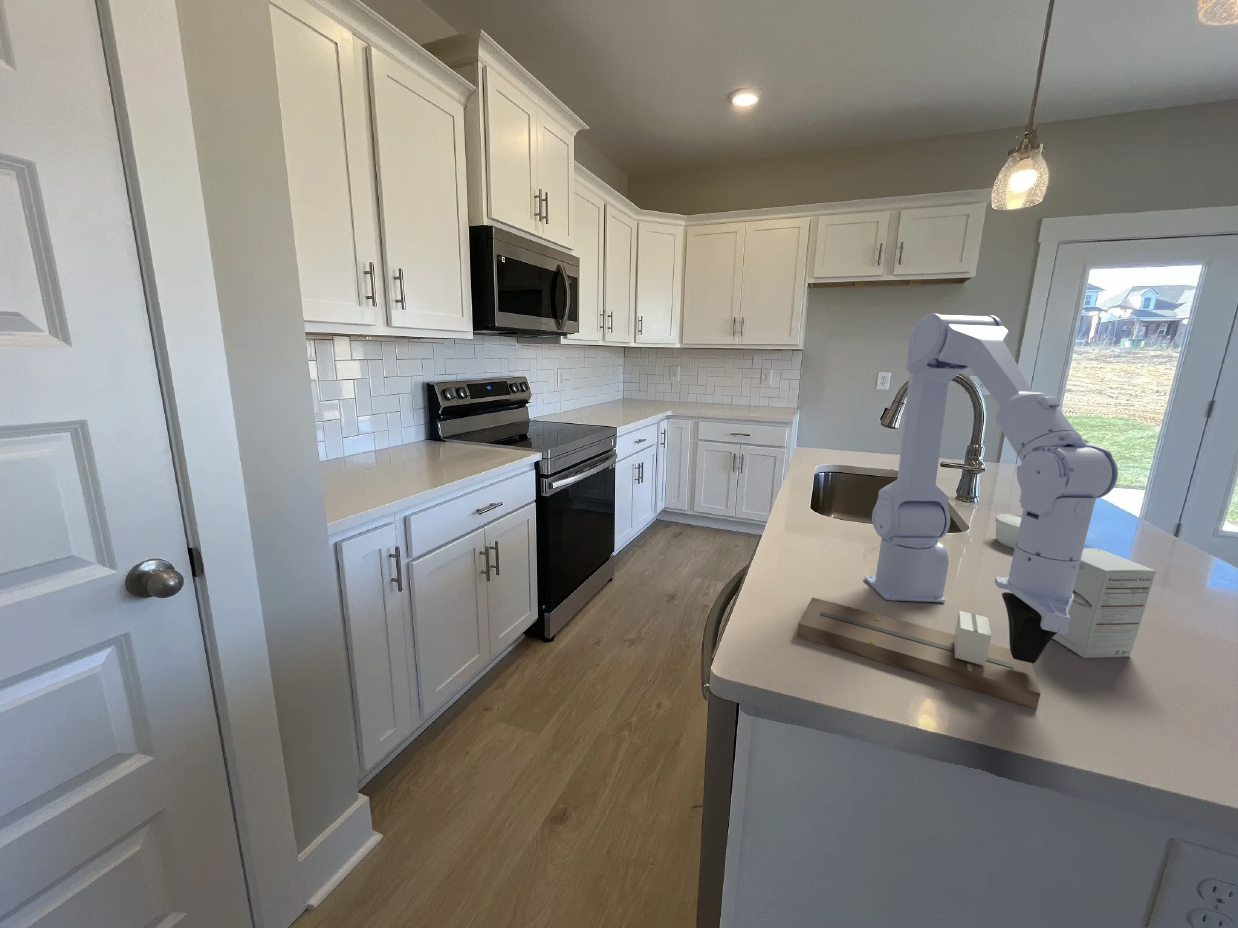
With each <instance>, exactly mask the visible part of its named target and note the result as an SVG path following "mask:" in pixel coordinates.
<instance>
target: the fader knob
mask: <svg viewBox="0 0 1238 928" xmlns="http://www.w3.org/2000/svg"><path fill="white" fill-rule="evenodd" d="M957 615H958V616H957V621H956V626H955V632H954V650H955V658H958V659H962V660H965V661H969V662H972V663H976V664H979V665H983V666H985V663H986V659H987V654H988V649H989V645H990V644H991V639H992V632H991V626H990V622H989V618H988V617H986V616H982V615H979V614H976V613H974V612H966V611H963V610H959V611H958V614H957Z"/></svg>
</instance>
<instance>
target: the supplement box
mask: <svg viewBox="0 0 1238 928" xmlns="http://www.w3.org/2000/svg"><path fill="white" fill-rule="evenodd" d="M1156 574H1157V570H1155V569H1153V568H1150V567H1148V566H1144V565H1142V564H1140V563H1137V562H1134V561H1132V560H1129V559H1127V558H1124V557H1123V556H1119V555H1118V554H1117V555H1116V554H1115V553H1112V552H1109V551H1107V550H1103V549H1101V548H1097V547H1096V548H1093V547H1090V548H1089V547H1087V548H1086V547H1084V548H1083V552H1082V556H1081V560H1080V564H1079V569H1078V573H1077V577H1076V581H1075V585H1074V589H1073V595H1074V599H1073V603H1072V605H1071V608H1070V610H1069V613H1068V614H1069V616H1070V619H1071V620H1070V623H1069V626H1068V630H1067V634H1062V633H1057V634H1056V635H1054V637H1053V638H1052V639H1053V640H1054V641H1056V642H1058V643H1059V644H1061V645H1062V646H1064V647H1066V648H1067V649H1069V650H1071V651H1072V652H1074V653H1076V654H1077V656H1079V657H1081V658H1082V659H1087V658H1089V659H1090V658H1091V659H1094V658H1095V659H1096V658H1097V659H1098V658H1101V659H1103V658H1123V657H1125V658H1126V657H1127V658H1128V657H1131V655H1132V651H1133V649H1134V646H1135V643H1136V639H1137V637H1138V636H1137V635H1138V633H1139V630H1140V625H1141V622H1142V619H1143V615H1144V612H1145V609H1146V606H1147V602H1148V598H1149V596H1150V592H1151V588H1152V585H1153V582H1154V579H1155V576H1156Z"/></svg>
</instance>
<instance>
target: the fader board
mask: <svg viewBox="0 0 1238 928" xmlns="http://www.w3.org/2000/svg"><path fill="white" fill-rule="evenodd" d="M954 635H955V633H951V632H950V633H949V632H946V631H942V630H940V629H936V628H931V627H927V626H923V625H920V624H916V623H913V622H908V621H905V620H900V619H897V618H892V617H889V616H886V615H881V614H877V613H873V612H871V611H867V610H863V609H859V608H855V607H850V606H847V605H843V604H839V603H835V602H831V601H828V600H824V599H820V598H816V597H811V599H810V600H809V603H808V605H807V606H806V608H805V611H804V612H803V614H802V616H801V618H800V620H799V621H798V627H797V635H796V636H797V637H798V638H801V639H806V640H807V641H808V640H809V641H811V642H815V643H818V644H822V645H825V646H828V647H831V648H835V649H838V650H841V651H844V652H848V653H851V654H854V655H858V656H861V657H864V658H867V659H870V660H874V661H877V662H881V663H884V664H887V665H891V666H893V667H894V666H895V667H897V668H901V669H903V670H907V671H909V672H914V673H916V674H919V675H924V676H927V677H930V678H933V679H936V680H940V681H943V682H947V683H950V684H953V685H956V686H960V687H963V688H966V689H969V690H972V691H976V692H979V693H982V694H985V695H990V696H992V697H995V698H999V699H1002V700H1006V701H1007V702H1008V701H1009V702H1012V703H1016V704H1018V705H1022V706H1024V707H1029V708H1032V709H1036V710H1037V709H1038V706H1039V702H1040V698H1041V695H1042V693H1041V691H1040V686H1039V683H1038V681H1037V678H1036V673H1035V671H1034V667H1033V665H1032V664H1033V663H1029V662H1025V661H1021V660H1016V659H1014V658H1013V657H1012V654H1011V651H1010V648H1007V647H1003V646H1000V645H996V644H993V643H992V644H991V643H990V645H989V649H988V654H987V659H986V663H985V666H983V665H979V664H976V663H972V662H969V661H965V660H962V659H958V658H955V650H954Z"/></svg>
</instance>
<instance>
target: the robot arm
mask: <svg viewBox="0 0 1238 928" xmlns="http://www.w3.org/2000/svg"><path fill="white" fill-rule="evenodd" d="M1009 333H1010V331H1009V329H1007V328H1006V327H1005V326H1004V324H1003V322H1002V320H1001V319H1000V318H999V317H998V316H995V315H983V316H982V315H958V314H955V315H954V314H953V315H951V314H939V313H934V312H932V313H931V312H930V313H928V314H926V315H924V316H923V317H922V318H921V319H920V320H919V321H918V322H917V324H916V325H915V326H914V327H913V328H912V330H911V331H910V334H909V335H910V336H909V340H908V341H909V344H908V353H907V360H906V361H907V363H906V371H907V372H908V373H909V374H908V375H909V376H908V383H907V392H906V393H907V394H906V402H905V410H904V420H903V429H902V437H901V444H900V445H901V446H900V454H899V462H898V463H899V464H898V473H897V479H896V480H894V481H892V482H891V483H889V484H887V485H885V486H884V487H882V488H881V489H879V491H878V497H877V500H876V504H875V505H874V507H873V510H872V515H871V521H872V526H873V529H874V531H875V532H876V533H877V536H879V537H880V538H881V541H880V546H879V553H878V560H877V566H876V571H875V576H874V575H873V576H872V575H866V576H864V580H865V581H866V582H867V583H868V584H869V585H870V586H871V587H872V588H873V589H874V590H875V591H876V592H877V593H878V594H879V595H880V596H882V597H881V598H883V599H884V600H887V601H903V602H904V601H905V602H927V603H930V602H931V603H945V602H946V598H944V593H945V586H946V581H947V574H948V570H949V565H950V564H949V563H950V560H949V558H950V557H949V554H948V551H947V548H946V547H945V545H944V544H943V543H941V541H938V540H939V539H942V538H944V537H945V536H946V535H947V533H948V531H949V529H950V526H951V516H950V512H949V498H950V497H949V495H947V494H946V493H945V492H944V491H943V490H942V489H941V488H940V487H939V486H938V485H937V475H938V468H939V460H940V453H941V443H942V436H943V430H944V421H945V415H946V406H947V405H946V404H947V399H948V398H947V397H948V391H949V390H948V389H949V383H950V382H951V381H952V380H954V379H955V378H956V377H957V376H958V375H959V374H963V373H965V372H967V371H970V370H971V371H972V372H973V374H974V375H975V376H976V378H978V380H979V382H980V383H981V384H982V385H983V386H984V388H985V389H986V390H987V392H989V394H990V396H991V397H992V398H993V399H994V401H995V402H996V404H998V406H999V408H998V410H997V411H996V414H995V421H996V423H997V424H998V426H999V428H1000V430H1001V431H1002V434H1003V435H1004V436H1005V438H1006V440H1008V442H1009V444H1010V446H1011V447H1012V448H1013V451H1014V452H1015V454H1016V456H1017V457H1018V458H1019V460H1020V463H1021V465H1019V464H1018V465H1017V466H1016V478H1017V482H1018V485H1019V487H1020V499H1019V503H1020V507H1021V508H1022V509H1023V510H1022V513H1021V515H1022V518H1021V523H1020V527H1019V532H1018V536H1017V541H1016V545H1015V549H1014V550H1013V556H1012V560H1011V564H1010V568H1009V574H1008V576H1006V577H1002V576H995V579H994V583H995V586H996V587H997V588H999V589H1001V590H1008V591H1007V592H1006V591H1004V592H1002V593H1001V597H1002V599H1003V602H1004V605H1005V610H1006V613H1007V618H1008V631H1009V632H1008V633H1009V636H1008V637H1009V649H1010V651H1011V654H1012V657H1013V658H1014V659H1016V660H1021V661H1025V662H1029V663H1031V664H1036V662H1037V661H1038V660H1039V658H1040V656H1041V655H1042V653H1043V652H1044V650H1045V649H1046V647H1047V645H1048V644H1049V642H1050V641H1052V639H1053V637H1054V635H1056V634H1057V633H1062V634H1067V630H1068V626H1069V623H1070V620H1071V619H1070V616H1069V614H1068V613H1069V610H1070V608H1071V605H1072V603H1073V599H1074V595H1073V589H1074V585H1075V581H1076V577H1077V573H1078V569H1079V564H1080V560H1081V556H1082V552H1083V548H1085V544H1086V539H1087V536H1088V531H1089V528H1090V524H1091V520H1092V516H1093V511H1094V508H1095V505H1096V499H1100V498H1102V497H1103V498H1104V497H1105V496H1107V495H1108V494H1109V493H1110V492H1111V491H1112V490H1113V489H1114V488H1115V486H1116V484H1117V481H1118V477H1119V470H1118V465H1117V463H1116V461H1115V458H1113V455H1112V452H1111V451H1109V450H1108V449H1107V448H1105V447H1102V446H1099V445H1095V444H1092V443H1090V442H1089V441H1088V440H1087V439H1083V437H1082V436H1081V434H1080V433H1079V432H1078V431H1076V429H1075V428H1074V427H1073V425H1072V424H1071V423H1070V421H1069V420H1068V419H1067V417H1066V416H1065V415H1064V413H1063V411H1062V410H1061V409H1060V408H1059V407H1060V406H1061V403H1060V402H1059V401H1058V398H1056V397H1055V396H1050V395H1049V394H1047V393H1044V392H1033V390H1032V389H1031V387H1030V385H1029V383H1028V382H1027V380H1026V378H1025V376H1024V375H1023V373H1022V371H1021V370H1020V367H1019V366H1018V364H1017V362H1016V360H1015V359H1014V356H1013V355H1012V352H1011V351H1010V349H1009V347H1008V346H1007V343H1008V340H1009Z"/></svg>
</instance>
